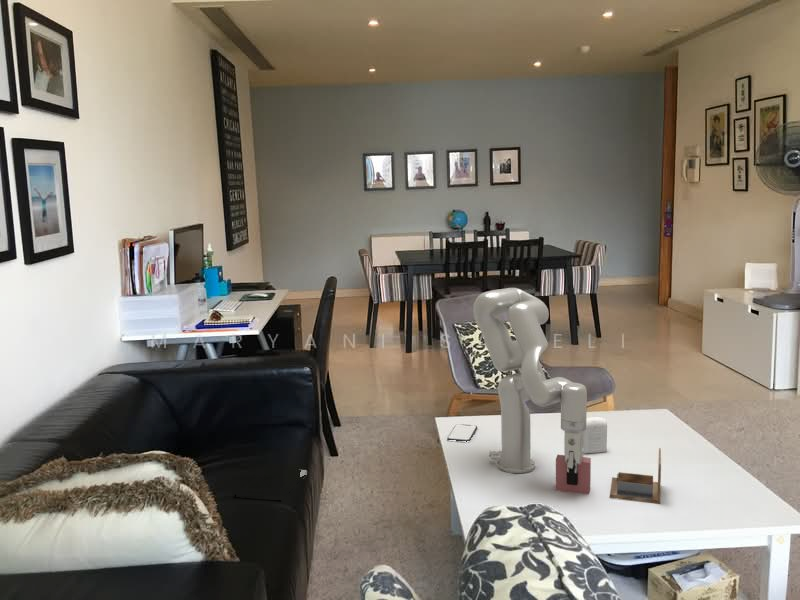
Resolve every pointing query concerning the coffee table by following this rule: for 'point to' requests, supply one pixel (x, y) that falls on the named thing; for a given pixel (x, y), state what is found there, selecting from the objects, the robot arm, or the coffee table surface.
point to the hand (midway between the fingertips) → (573, 480)
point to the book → (583, 475)
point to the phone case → (462, 432)
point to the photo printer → (595, 435)
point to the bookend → (635, 490)
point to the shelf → (641, 480)
